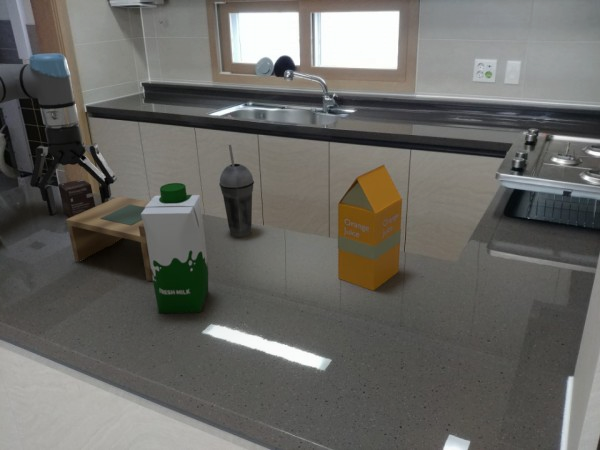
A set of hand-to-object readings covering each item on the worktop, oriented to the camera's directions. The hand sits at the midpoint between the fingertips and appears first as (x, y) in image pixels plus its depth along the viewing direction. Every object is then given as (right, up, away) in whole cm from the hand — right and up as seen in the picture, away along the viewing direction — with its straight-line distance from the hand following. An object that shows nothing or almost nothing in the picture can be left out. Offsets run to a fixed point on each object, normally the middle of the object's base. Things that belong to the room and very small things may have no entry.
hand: (80, 211), depth 131 cm
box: (0, 0, 0) cm, 0 cm away
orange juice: (+66, -13, -33) cm, 75 cm away
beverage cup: (+41, -5, -14) cm, 43 cm away
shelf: (+21, -9, -23) cm, 32 cm away
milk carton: (+34, -17, -39) cm, 55 cm away
